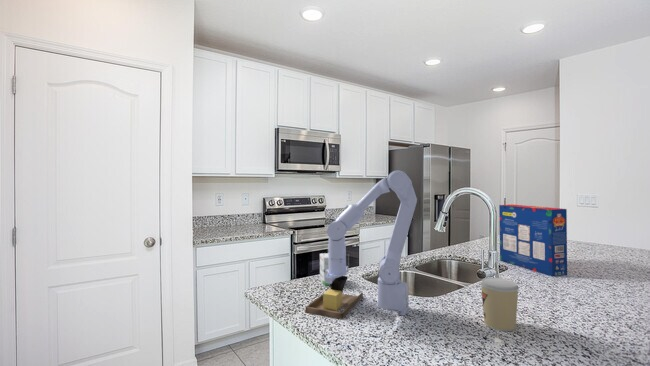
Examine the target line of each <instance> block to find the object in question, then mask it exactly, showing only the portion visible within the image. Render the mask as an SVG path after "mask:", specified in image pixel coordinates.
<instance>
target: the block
mask: <svg viewBox="0 0 650 366" xmlns="http://www.w3.org/2000/svg"><path fill="white" fill-rule="evenodd" d="M342 294H343V293H342V291H338V290H332V289H330V288H329V289H328V290H326V291H324V292H323V300H322V302H323V308H327V309H332V310H337V309H338V308H339V307H340V306H342Z"/></svg>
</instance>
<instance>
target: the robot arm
mask: <svg viewBox="0 0 650 366" xmlns="http://www.w3.org/2000/svg"><path fill="white" fill-rule="evenodd" d="M390 190H392V191H393V192H394V193H395V194H396V196H397V198H398V199H399V201H400V204H399V208H398V212H397V215H396V218H395V220H394V225H393V228H392V230H391V235H390V238H389V241H388V244H387V248H386V251H385V253H384V256H383V257H382V259H381V260H379V263H378V269H379V270H378V275H379V276H378V278H377V306H378V307H379V308H381V309H384V310H389V311H391V310H392V311H393V310H394V311H398V313H397V315H398V316H403V317H404V316H405V315H406V314H407V312H408V310H409V308H410V305H409V303H410V301H409V298H410V297H409V284H408V282H404V281H402V279H401V278H400V277H401V272H400V265H401V259H402V253H403V250H404V247H405V243H406V240H407V237H408V234H409V230H410V226H411V223H412V221H413V216H414V213H415V210H416V206H417V203H418V198H417V195H416V192H415V189H414V187H413V181H412V179H410V177H409V176H408V175H407V174H406V172H405V171H402V170H398V169H397V170H393V171H391V172H389V174H388V175H387V176H385V177H383V178H382V179H381V180H379V181H378V182H377V183H375V185H373V186H372V188H371V189H370V190H369V191H368V192H367V193H366V194H365V195H364V196H363V197H362V198H361V199H360V200H359V201H358V202H357V203H350V204H349V205H346V206H344V208H343V209H344V210H343V211H342V212H341V213H340V214H339V215H338V216H335V217H334V221H332V222H330V223H329V225H328V226H327V228H326V229H327V230H326V234H327V236H328V244H327V246H328V247H327V248H328V252H327V253H328V260H329V269H327V270H326V271H325V272H326V273H327V276H326V277H325V283H328V284H330V285H329V287H330V288H331V289H332V290H338V291H342V294H344V292H343V291H344V288H345V286H346V285H345V284H346V282H347V281H348V276H346V275H347V273H348V272H349V265H347V253H346V252H347V248H346V247H347V245H346V234H347V231H350V230H351V229H352V228H353V227H354V226H355V225H357V223H358V222H359V221H360V220H361V219H362V218H363V217H364V211H365V210H366V209H367V208H368V207H369V206H370V205H372V203H373V202H374V201H376V199H378V198H379V197H380V196H381V195H383V194H387V193H390V192H391V191H390Z"/></svg>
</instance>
